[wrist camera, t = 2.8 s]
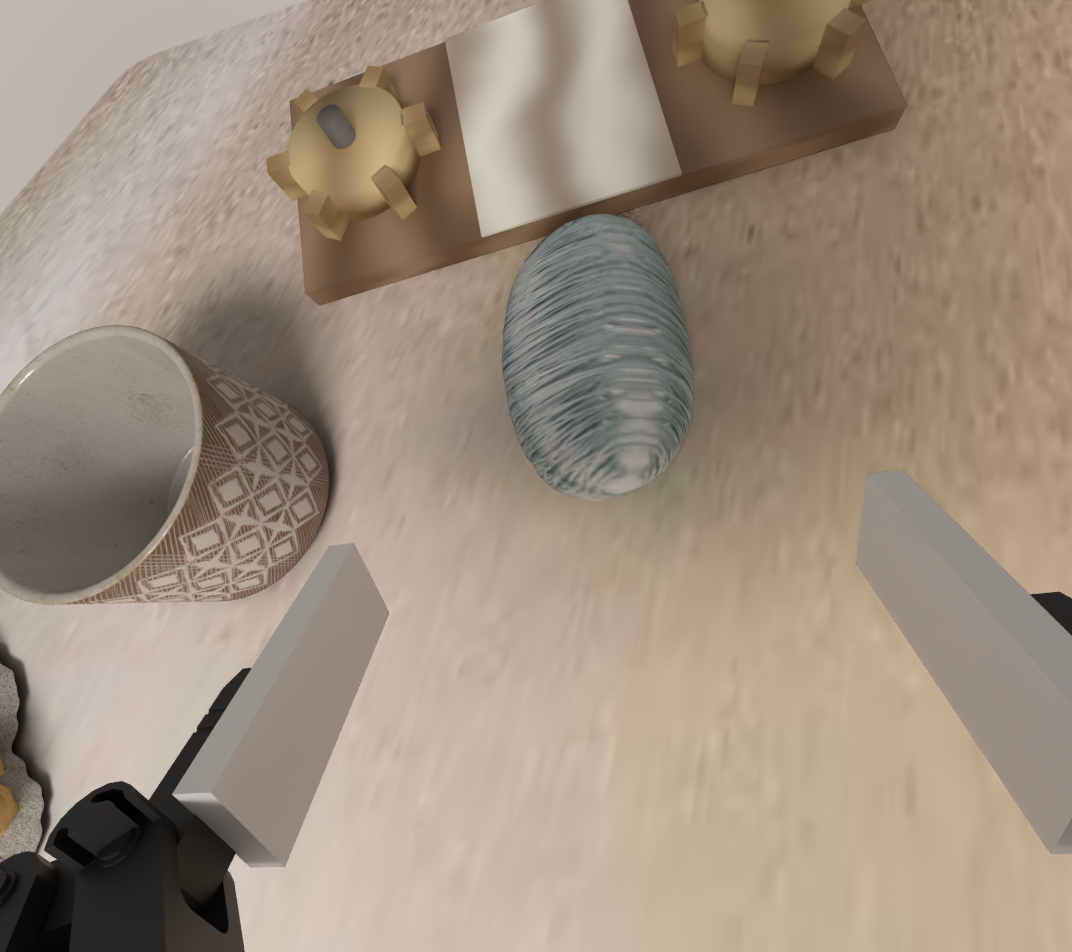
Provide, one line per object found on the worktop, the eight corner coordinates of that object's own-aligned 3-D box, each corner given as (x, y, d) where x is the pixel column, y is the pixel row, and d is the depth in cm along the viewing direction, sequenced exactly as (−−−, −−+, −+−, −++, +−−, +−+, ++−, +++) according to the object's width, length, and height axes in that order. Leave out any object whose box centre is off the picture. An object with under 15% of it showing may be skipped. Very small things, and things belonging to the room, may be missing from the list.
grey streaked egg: (485, 250, 29) (531, 149, 20) (640, 269, 32) (747, 188, 22) (482, 493, 30) (525, 512, 20) (635, 493, 32) (738, 509, 23)
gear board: (812, -71, 33) (843, -195, 28) (902, 126, 29) (958, 23, 24) (297, 120, 39) (243, 47, 34) (313, 307, 35) (255, 256, 30)
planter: (366, 421, 32) (242, 345, 22) (300, 625, 30) (131, 641, 20) (205, 388, 35) (33, 308, 26) (136, 571, 33) (-80, 561, 23)
